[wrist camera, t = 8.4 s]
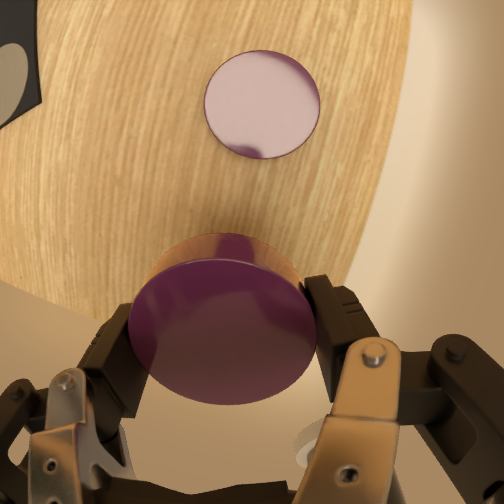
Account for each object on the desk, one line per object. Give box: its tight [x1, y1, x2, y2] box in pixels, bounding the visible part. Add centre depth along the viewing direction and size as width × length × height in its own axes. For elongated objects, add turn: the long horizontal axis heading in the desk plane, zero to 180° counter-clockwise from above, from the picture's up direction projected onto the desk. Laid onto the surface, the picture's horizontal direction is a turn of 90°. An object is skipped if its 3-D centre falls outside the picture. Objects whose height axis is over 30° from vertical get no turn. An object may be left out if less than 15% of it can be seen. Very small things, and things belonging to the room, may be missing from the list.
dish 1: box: [204, 50, 320, 159], centre depth 14 cm, size 6×6×3 cm
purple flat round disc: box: [128, 233, 317, 405], centre depth 10 cm, size 6×6×3 cm
